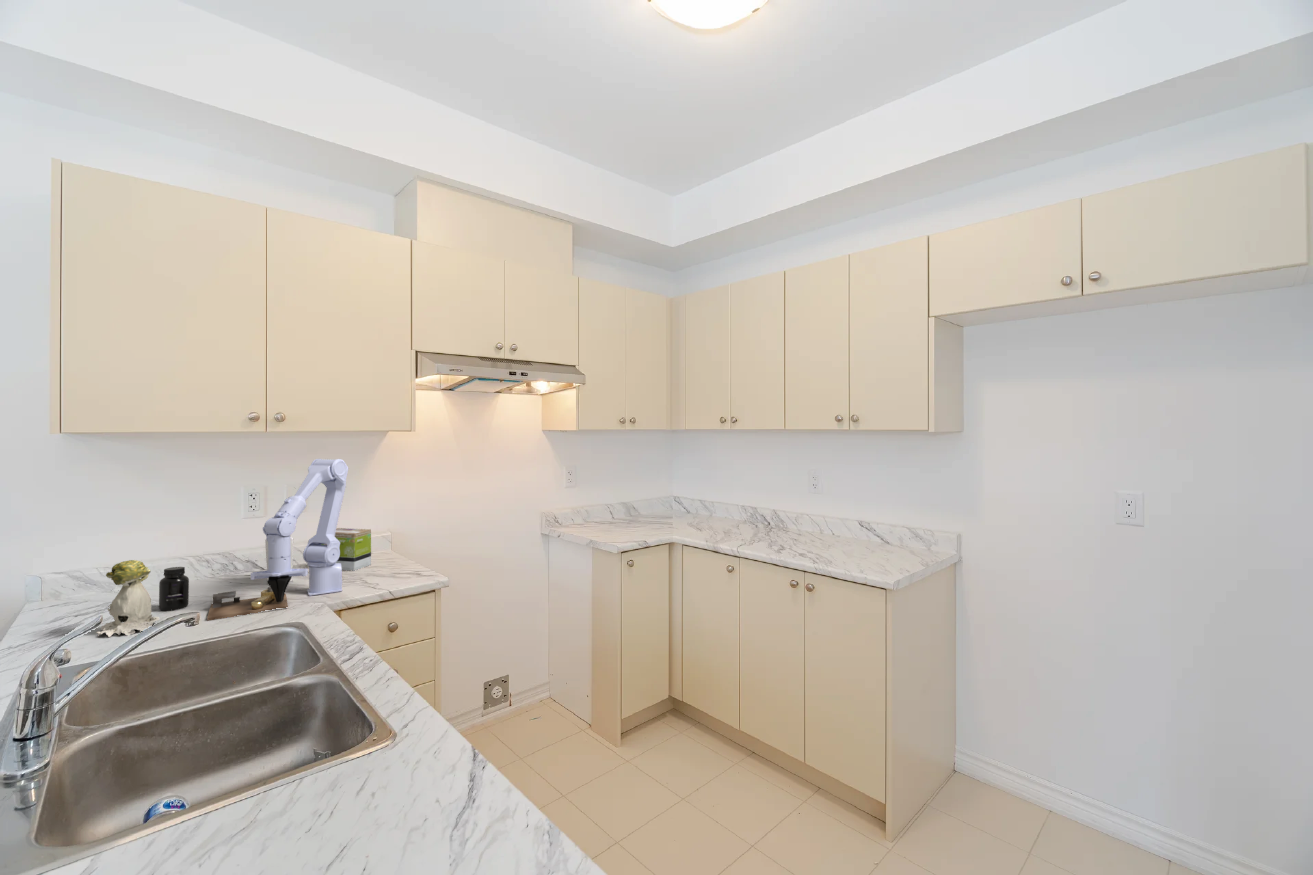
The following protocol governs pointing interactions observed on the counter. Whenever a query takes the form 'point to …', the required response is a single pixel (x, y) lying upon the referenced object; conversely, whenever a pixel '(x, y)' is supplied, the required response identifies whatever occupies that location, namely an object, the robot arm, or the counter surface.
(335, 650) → the counter surface
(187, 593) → the supplement bottle
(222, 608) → the hinge board
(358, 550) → the tea box
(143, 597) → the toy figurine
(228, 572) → the counter surface
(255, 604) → the link
